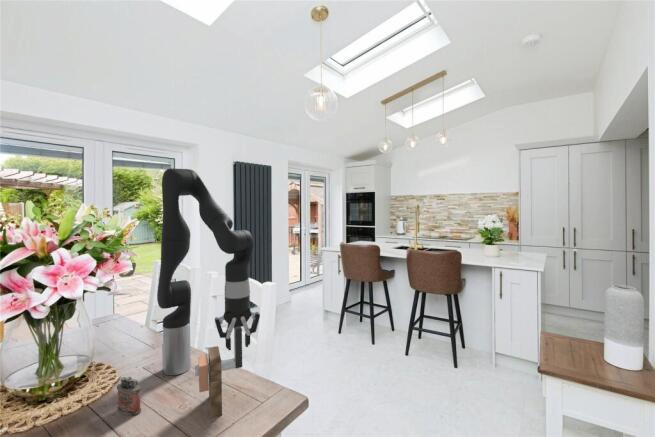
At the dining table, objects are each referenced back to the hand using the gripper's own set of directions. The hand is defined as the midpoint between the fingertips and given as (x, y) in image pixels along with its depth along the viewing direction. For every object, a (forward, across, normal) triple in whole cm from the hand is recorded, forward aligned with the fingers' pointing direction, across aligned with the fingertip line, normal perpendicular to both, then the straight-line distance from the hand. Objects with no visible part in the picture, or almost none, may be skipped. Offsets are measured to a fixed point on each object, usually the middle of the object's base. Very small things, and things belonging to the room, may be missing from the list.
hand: (238, 347), depth 98 cm
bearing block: (+17, +7, 0) cm, 18 cm away
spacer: (+10, +10, 0) cm, 14 cm away
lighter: (+17, +31, -8) cm, 36 cm away
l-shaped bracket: (+6, +6, 0) cm, 8 cm away
